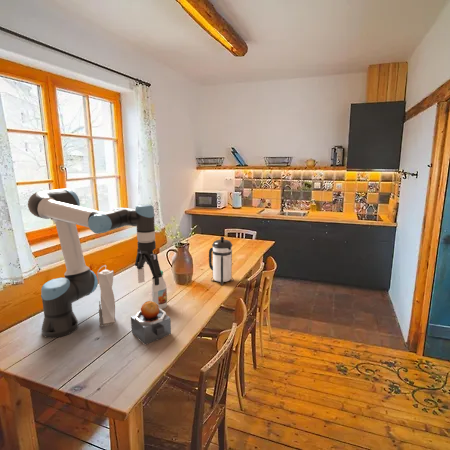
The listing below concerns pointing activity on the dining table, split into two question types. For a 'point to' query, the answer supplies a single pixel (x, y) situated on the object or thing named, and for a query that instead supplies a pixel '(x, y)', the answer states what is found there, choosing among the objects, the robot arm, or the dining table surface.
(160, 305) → the milk bottle
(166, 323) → the grey octagonal pot
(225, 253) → the coffee press
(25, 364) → the dining table surface
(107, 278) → the skyscraper
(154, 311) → the fruit
